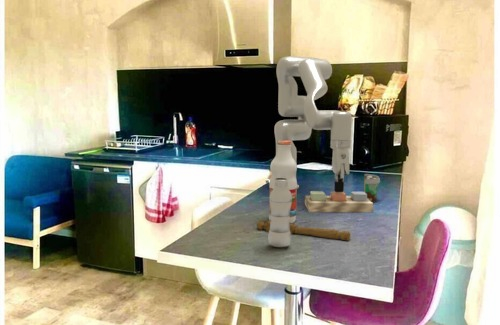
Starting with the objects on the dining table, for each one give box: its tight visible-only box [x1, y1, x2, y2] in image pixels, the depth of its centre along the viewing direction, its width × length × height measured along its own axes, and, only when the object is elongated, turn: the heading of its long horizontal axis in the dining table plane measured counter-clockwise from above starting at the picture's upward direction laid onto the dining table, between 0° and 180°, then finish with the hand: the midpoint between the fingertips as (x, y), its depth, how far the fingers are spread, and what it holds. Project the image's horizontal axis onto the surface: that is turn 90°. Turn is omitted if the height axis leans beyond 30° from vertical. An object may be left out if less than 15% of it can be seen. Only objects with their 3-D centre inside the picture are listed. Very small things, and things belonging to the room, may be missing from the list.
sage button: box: [309, 190, 326, 201], centre depth 175 cm, size 5×5×4 cm
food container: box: [363, 173, 381, 203], centre depth 189 cm, size 12×6×10 cm, turn 168°
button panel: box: [304, 195, 374, 214], centre depth 176 cm, size 24×12×4 cm, turn 91°
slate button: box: [350, 191, 367, 201], centre depth 176 cm, size 5×5×4 cm
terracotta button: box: [330, 190, 347, 201], centre depth 176 cm, size 5×5×4 cm
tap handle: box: [256, 220, 351, 242], centre depth 144 cm, size 3×3×30 cm
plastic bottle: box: [267, 178, 292, 248], centre depth 131 cm, size 6×7×20 cm
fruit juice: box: [268, 140, 298, 224], centre depth 156 cm, size 9×9×28 cm
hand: (338, 191), depth 175 cm, fingers closed
